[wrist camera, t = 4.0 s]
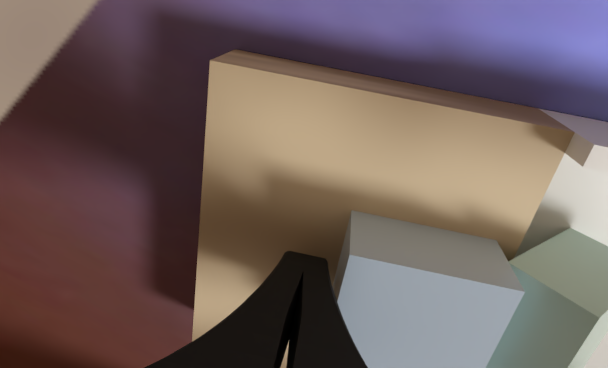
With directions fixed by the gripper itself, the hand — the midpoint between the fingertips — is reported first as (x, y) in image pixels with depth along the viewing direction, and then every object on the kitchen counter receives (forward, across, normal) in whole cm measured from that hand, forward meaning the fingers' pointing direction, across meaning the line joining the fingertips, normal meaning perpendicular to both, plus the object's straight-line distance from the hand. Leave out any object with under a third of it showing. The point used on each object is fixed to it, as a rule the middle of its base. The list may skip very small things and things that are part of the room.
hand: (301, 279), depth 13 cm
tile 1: (+1, -7, 0) cm, 7 cm away
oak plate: (+3, -1, 0) cm, 4 cm away
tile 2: (+1, -3, 0) cm, 3 cm away
